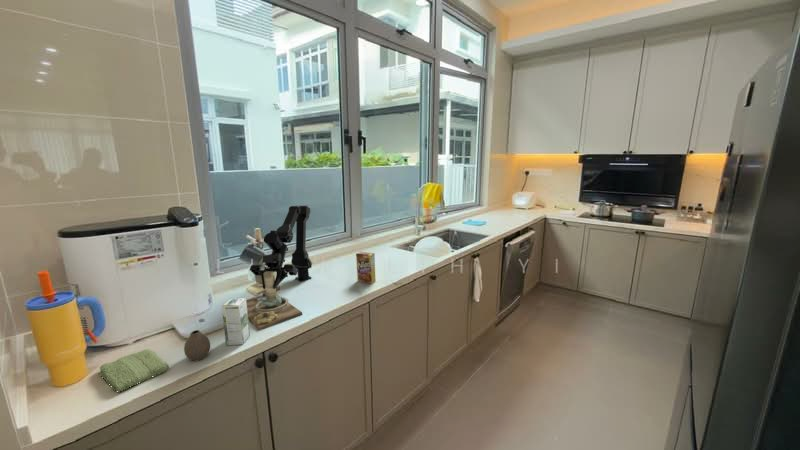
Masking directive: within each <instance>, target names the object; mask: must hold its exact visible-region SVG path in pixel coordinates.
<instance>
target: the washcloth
mask: <svg viewBox="0 0 800 450" xmlns="http://www.w3.org/2000/svg"><path fill="white" fill-rule="evenodd" d="M169 366H170V365H169V364H167V362H166V361H165V360H163V359H162V358H161V357H160V356H159V355H157V354H156V352H155V351H154V350H152V349H150V348H146V349H142V350H140V351H137V352H134V353H130V354H127V355H124V356H121V357H119V358H117V359H116V360H113V361H111V362H106V363H103V364H102V365H101V366H100V367H99V370H100V371H99V372H98V374H100V375H101V376H102V377H103V378H104V379H105V380H106V382H107V383H108V384H107V383H106V382H105V383H106V384H107V385H109V384H110V386H112V388H111V389H113V388H114V389H115V390H116V391H118V392H117V393H121V392H120V391H122V392H124V391H126V390H128V389H130V388H131V387H130V386H133V385H135V384H137V383H139V382H141V381H142V382H144V381H143V380H145V379H147V380H149V379H151V378H150V377H152V376H155V375H156V376H158V375H157V374H159V373H162V372H164V373H166V372H167V371H168V368H169ZM162 374H163V373H162ZM159 375H160V374H159ZM101 376H100V377H101ZM156 376H155V377H156ZM102 377H101V378H102ZM148 378H149V379H148ZM104 379H103V380H104ZM105 380H104V381H105ZM145 381H146V380H145ZM142 382H141V383H142ZM137 385H138V384H137ZM110 386H109V387H110ZM135 386H136V385H135ZM129 387H130V388H129ZM133 387H134V386H133ZM127 388H128V389H127ZM114 389H113V390H114ZM125 389H126V390H125ZM115 390H114V391H115ZM123 390H124V391H123ZM116 391H115V392H116Z"/></svg>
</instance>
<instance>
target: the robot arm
mask: <svg viewBox="0 0 800 450" xmlns="http://www.w3.org/2000/svg"><path fill="white" fill-rule="evenodd" d="M310 214H311V208H310V207H309V206H308V205H291V206H289V207H288V213H287V214H286V216H285V217H284V220H283V223H282V225H281V226H279V227H278V228H277V229H276V230H270V231H269V233H267V234H265V236H264V237H263V242H264V243H265V244H266V246H267V247H268V248H269V249H270V250H271V253H270V254H262V259H261V263H262V264H265V265H264V266H263V265H262V264H258V263H256V264H251V266H250V268H249V271H250V272H251V273H252V274H253V275H255V276H261V282H262V284H261V285H262V289H263V290H265V282H264V273H265V272H268V271H273V272H274V273H276V276H275V282H274V286H273V289H275V288H276V289H277V287H278V286H279V285H280V284H281V283H282V281H284V279H286V278H288V277H289V276H296V277H294V278H295V280H297V281H300V282H303V281H307V280H309V279H312V276H310V273H309V269H312V264H313V263H312V260H311V259H310V257H309V253H308V251H307V250H306V243H307V242H306V241H307V239H306V234H307V231H306V230H307V229H306V228H307V221H309V218H310ZM295 224H296V234H295V251H294V252H292V253H291V263H290V264H289V263H287V264H284V263H285V262H286V259H285V258H286V254H287V252H288V251H289V247H288V245H287V244H289V243H291V242H292V241H293V239H294V233H293V229H294V227H295Z"/></svg>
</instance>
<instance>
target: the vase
mask: <svg viewBox="0 0 800 450" xmlns="http://www.w3.org/2000/svg"><path fill="white" fill-rule="evenodd" d="M183 351H184V355H185V357H186V358H187V359H188V360H189V361H192V360H193V361H192V362H196V360H198V361H200V359H201V360H203V359H205V358H206V357H207V355H209V353H210V351H211V341H210V338H209V337H208V336H207V335H206V334H204V333H203V332H201V330H199V329H195V330H192V331H191V332H190V334H189V336H188V337H187V339H186V340H185V343H184V345H183ZM204 357H205V358H204Z"/></svg>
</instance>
